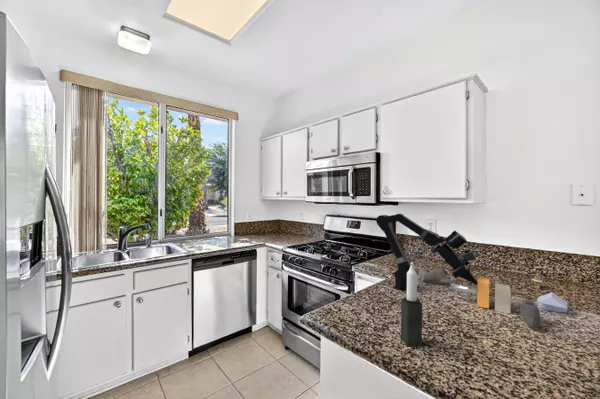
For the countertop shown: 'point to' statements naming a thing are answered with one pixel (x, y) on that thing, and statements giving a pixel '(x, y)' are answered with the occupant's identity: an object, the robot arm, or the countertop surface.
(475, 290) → the pipe stand
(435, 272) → the grey lumpy stone
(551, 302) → the pale blue faceted stone
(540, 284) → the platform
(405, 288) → the robot arm
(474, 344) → the countertop surface
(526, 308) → the perforated stone tool
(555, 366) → the countertop surface
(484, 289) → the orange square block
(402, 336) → the candle
